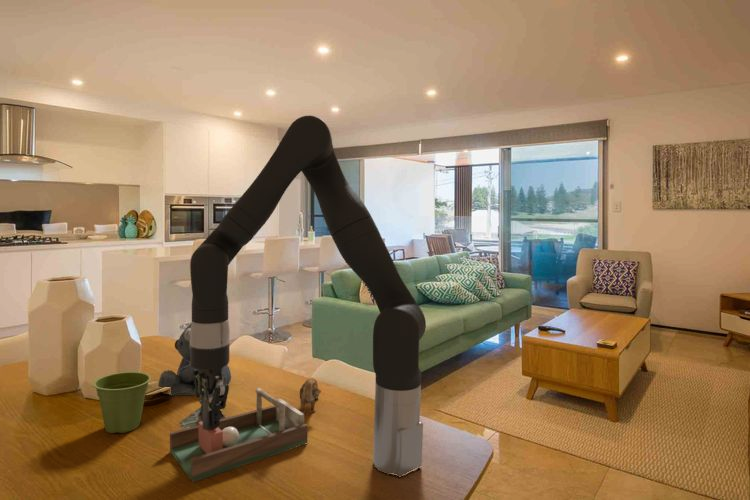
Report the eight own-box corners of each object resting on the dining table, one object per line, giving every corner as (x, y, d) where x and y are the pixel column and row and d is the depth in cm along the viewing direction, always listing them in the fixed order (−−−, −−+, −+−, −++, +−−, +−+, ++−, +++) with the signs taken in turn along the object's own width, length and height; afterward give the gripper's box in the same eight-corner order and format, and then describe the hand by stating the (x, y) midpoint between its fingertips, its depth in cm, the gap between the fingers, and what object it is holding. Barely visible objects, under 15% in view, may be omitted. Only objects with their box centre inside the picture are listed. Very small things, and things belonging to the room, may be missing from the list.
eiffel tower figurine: (207, 403, 127) (206, 354, 126) (242, 407, 125) (243, 357, 124) (173, 429, 113) (172, 373, 111) (213, 433, 111) (213, 377, 110)
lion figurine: (321, 418, 119) (321, 383, 118) (299, 419, 118) (299, 384, 118) (318, 395, 134) (318, 364, 133) (298, 396, 133) (299, 364, 132)
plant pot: (128, 442, 105) (127, 392, 104) (81, 435, 107) (80, 386, 106) (162, 419, 116) (161, 373, 115) (119, 413, 119) (118, 369, 118)
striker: (224, 454, 98) (224, 399, 97) (209, 459, 96) (209, 403, 95) (211, 441, 103) (211, 389, 102) (197, 445, 101) (196, 392, 100)
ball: (242, 446, 102) (242, 428, 101) (223, 452, 99) (223, 433, 99) (234, 439, 105) (234, 421, 104) (216, 444, 102) (216, 426, 102)
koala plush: (182, 375, 147) (181, 312, 145) (240, 377, 146) (240, 314, 145) (153, 397, 130) (153, 325, 128) (219, 400, 129) (219, 328, 127)
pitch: (307, 443, 106) (308, 400, 105) (192, 482, 90) (192, 431, 90) (276, 421, 117) (277, 381, 116) (169, 451, 101) (169, 406, 100)
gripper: (242, 347, 94) (242, 431, 96) (215, 331, 105) (215, 408, 107) (204, 353, 90) (204, 442, 91) (179, 336, 101) (180, 416, 102)
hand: (210, 423), depth 99 cm, fingers closed on striker, 3 cm apart
